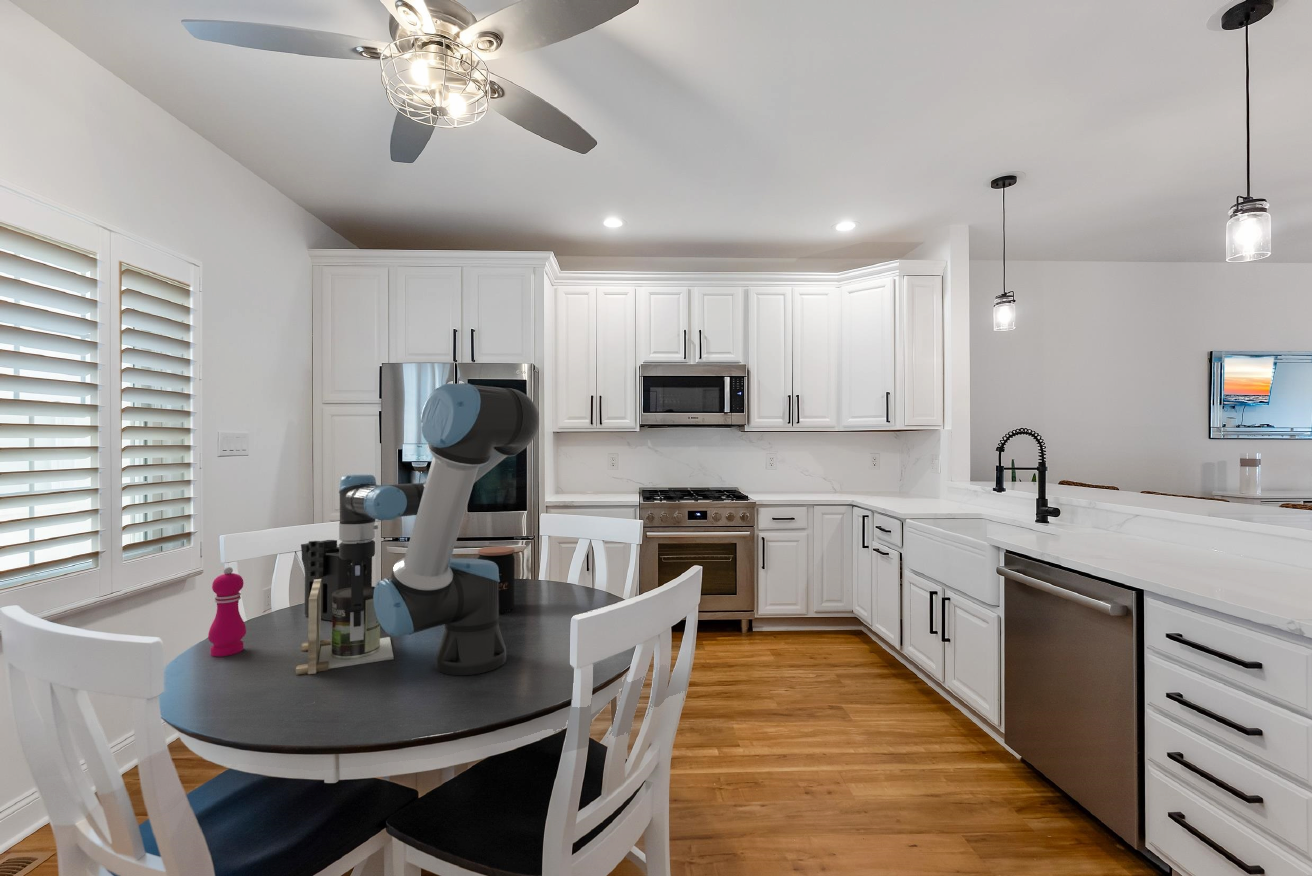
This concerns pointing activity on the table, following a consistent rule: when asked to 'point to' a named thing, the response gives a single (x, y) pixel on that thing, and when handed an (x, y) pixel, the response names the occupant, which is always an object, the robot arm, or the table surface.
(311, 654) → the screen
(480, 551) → the coffee jar
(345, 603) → the coffee can
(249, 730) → the table surface
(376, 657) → the mat
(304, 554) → the black machined bracket
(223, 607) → the pepper mill
